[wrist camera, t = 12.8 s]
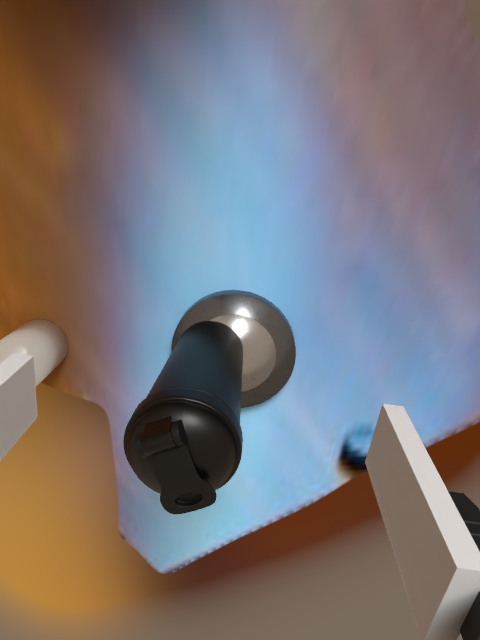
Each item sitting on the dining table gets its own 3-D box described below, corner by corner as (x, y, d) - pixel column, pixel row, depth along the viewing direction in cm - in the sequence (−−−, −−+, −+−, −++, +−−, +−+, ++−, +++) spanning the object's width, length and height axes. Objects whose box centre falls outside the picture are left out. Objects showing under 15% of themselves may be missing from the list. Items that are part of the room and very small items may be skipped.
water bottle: (191, 395, 57) (145, 538, 36) (158, 329, 54) (86, 443, 32) (261, 372, 55) (258, 508, 34) (231, 302, 52) (207, 403, 31)
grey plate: (178, 282, 54) (175, 287, 52) (304, 298, 54) (305, 304, 52) (171, 392, 60) (168, 400, 58) (284, 406, 59) (285, 415, 57)
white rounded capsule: (16, 315, 57) (-22, 339, 49) (67, 322, 57) (37, 347, 49) (19, 362, 59) (-16, 391, 52) (69, 368, 59) (40, 399, 52)
